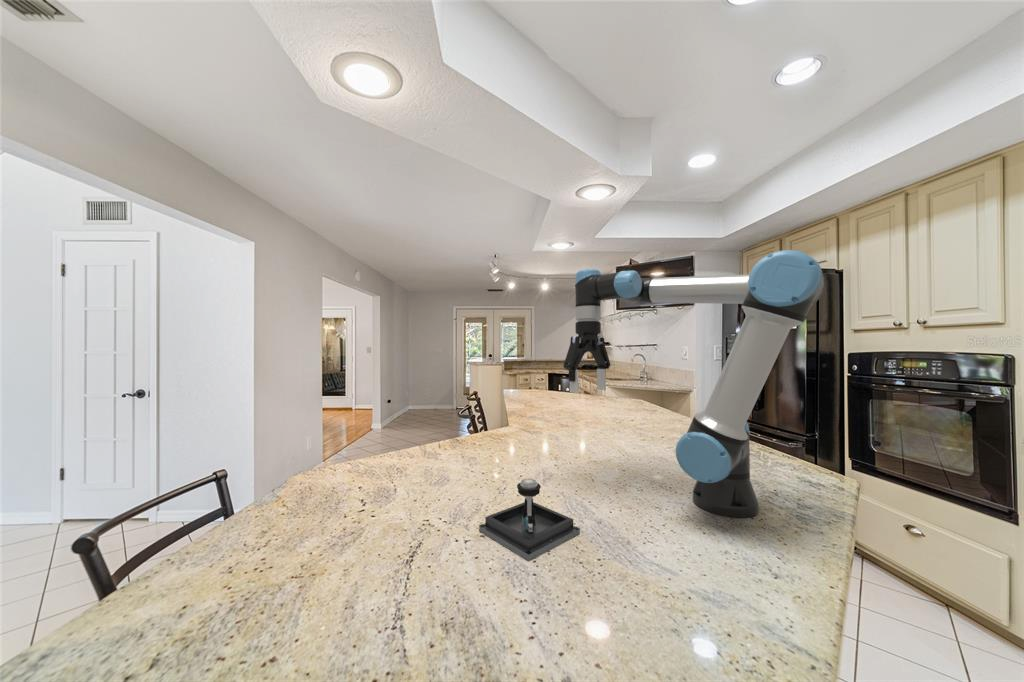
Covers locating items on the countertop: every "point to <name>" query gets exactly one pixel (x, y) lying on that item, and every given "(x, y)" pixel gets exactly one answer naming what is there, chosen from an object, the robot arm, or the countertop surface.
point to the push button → (528, 501)
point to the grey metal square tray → (521, 541)
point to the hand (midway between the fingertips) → (588, 391)
